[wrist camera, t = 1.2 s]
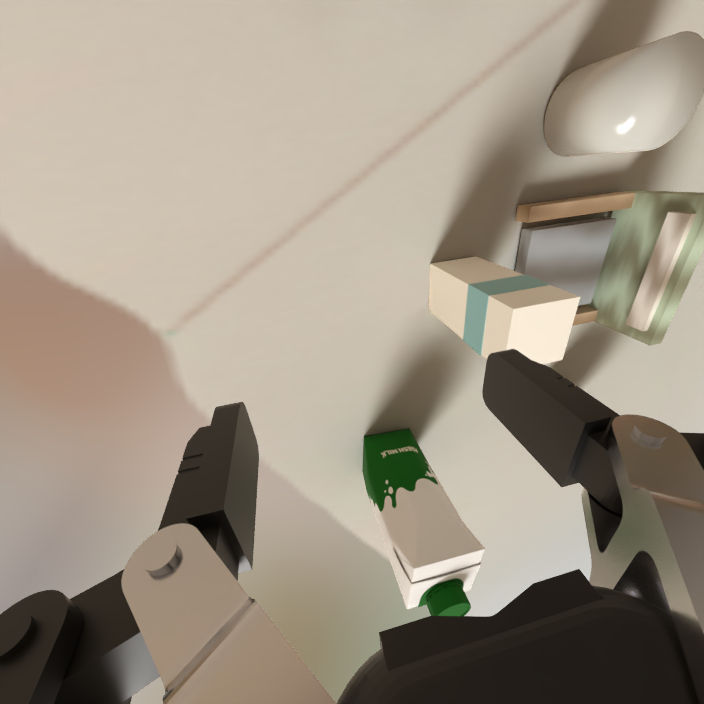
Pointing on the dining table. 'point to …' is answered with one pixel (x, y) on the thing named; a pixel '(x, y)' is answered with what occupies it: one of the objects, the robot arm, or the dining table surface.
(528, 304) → the oat carton
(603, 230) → the display bay
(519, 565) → the dining table surface
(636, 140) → the white tapered tumbler
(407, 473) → the milk carton
